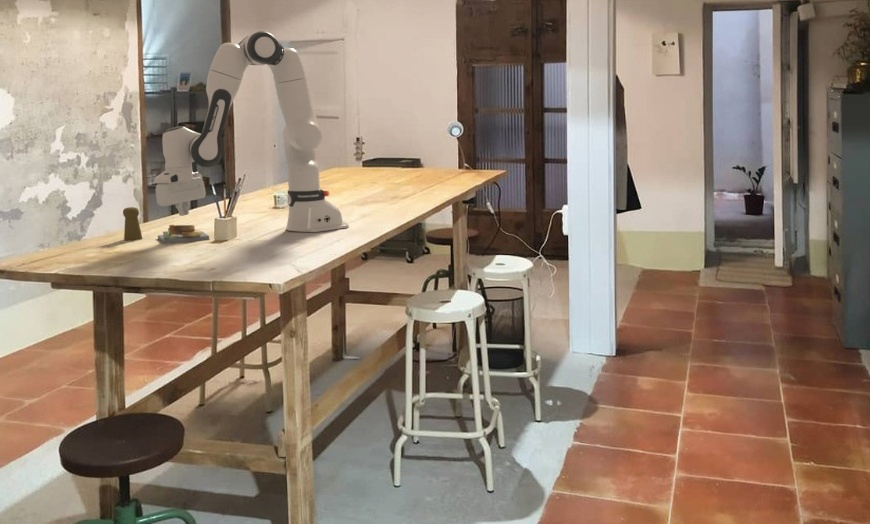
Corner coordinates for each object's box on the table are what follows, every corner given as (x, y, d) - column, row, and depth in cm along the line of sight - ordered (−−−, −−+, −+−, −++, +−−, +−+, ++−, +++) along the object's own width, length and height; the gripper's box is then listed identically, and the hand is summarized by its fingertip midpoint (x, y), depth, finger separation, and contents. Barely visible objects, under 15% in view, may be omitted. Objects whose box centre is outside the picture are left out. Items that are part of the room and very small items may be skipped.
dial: (202, 234, 306) (201, 223, 305) (197, 237, 300) (196, 226, 299) (173, 234, 306) (172, 223, 306) (167, 237, 300) (167, 226, 300)
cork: (136, 237, 311) (133, 205, 309) (146, 238, 307) (143, 207, 305) (120, 239, 307) (117, 207, 304) (130, 241, 303) (127, 209, 301)
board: (201, 234, 314) (200, 224, 313) (209, 239, 304) (208, 228, 303) (157, 238, 307) (157, 228, 306) (164, 243, 297) (163, 232, 297)
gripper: (193, 170, 313) (198, 209, 316) (150, 178, 296) (155, 219, 299) (207, 171, 310) (211, 210, 313) (164, 179, 293) (169, 220, 296)
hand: (184, 215), depth 306 cm, fingers closed
